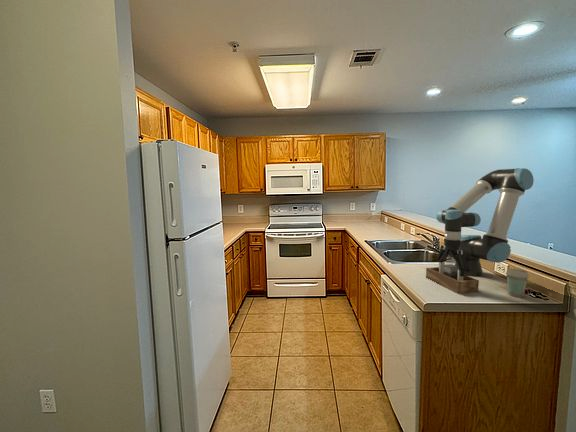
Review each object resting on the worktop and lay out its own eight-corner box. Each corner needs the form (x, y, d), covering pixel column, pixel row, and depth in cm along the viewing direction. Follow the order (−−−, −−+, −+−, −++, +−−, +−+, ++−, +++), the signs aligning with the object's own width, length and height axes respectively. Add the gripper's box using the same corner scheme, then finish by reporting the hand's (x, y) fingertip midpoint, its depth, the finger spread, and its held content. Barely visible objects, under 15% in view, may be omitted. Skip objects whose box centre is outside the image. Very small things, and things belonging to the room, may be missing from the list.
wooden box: (443, 276, 164) (443, 266, 164) (478, 292, 140) (478, 280, 140) (425, 278, 162) (426, 267, 162) (457, 293, 139) (458, 281, 138)
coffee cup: (527, 300, 130) (529, 274, 129) (503, 295, 136) (505, 271, 134) (527, 294, 137) (529, 270, 135) (505, 290, 142) (506, 267, 141)
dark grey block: (450, 281, 154) (451, 264, 153) (457, 284, 149) (458, 266, 148) (442, 282, 153) (443, 264, 152) (449, 285, 149) (450, 267, 147)
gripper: (430, 235, 160) (428, 271, 163) (464, 243, 136) (462, 286, 138) (442, 234, 162) (440, 270, 164) (478, 243, 137) (475, 285, 139)
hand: (450, 277), depth 151 cm, fingers open, 13 cm apart
